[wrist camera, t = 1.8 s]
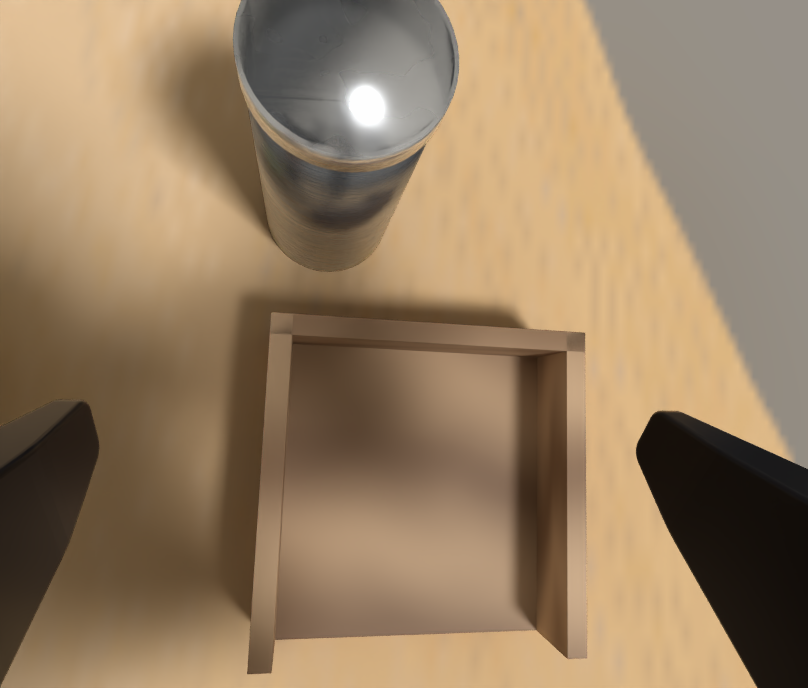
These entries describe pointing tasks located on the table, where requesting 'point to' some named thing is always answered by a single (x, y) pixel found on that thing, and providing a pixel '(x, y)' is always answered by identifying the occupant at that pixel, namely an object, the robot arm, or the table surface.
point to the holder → (420, 483)
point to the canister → (341, 114)
